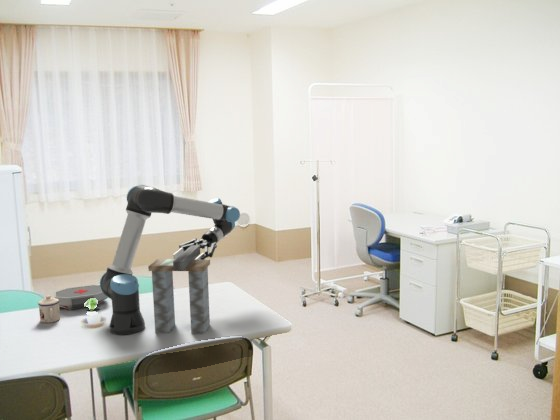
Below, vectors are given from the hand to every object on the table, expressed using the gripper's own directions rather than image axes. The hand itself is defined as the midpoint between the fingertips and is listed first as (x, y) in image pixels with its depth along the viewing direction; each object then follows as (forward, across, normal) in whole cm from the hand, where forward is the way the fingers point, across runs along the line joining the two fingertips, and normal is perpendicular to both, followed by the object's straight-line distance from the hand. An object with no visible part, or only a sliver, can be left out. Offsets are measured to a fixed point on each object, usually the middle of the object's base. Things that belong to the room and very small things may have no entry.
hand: (184, 259), depth 255 cm
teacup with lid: (+48, -46, +14) cm, 68 cm away
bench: (+24, +14, +18) cm, 33 cm away
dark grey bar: (+10, +14, -9) cm, 19 cm away
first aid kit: (+28, -52, +22) cm, 63 cm away
